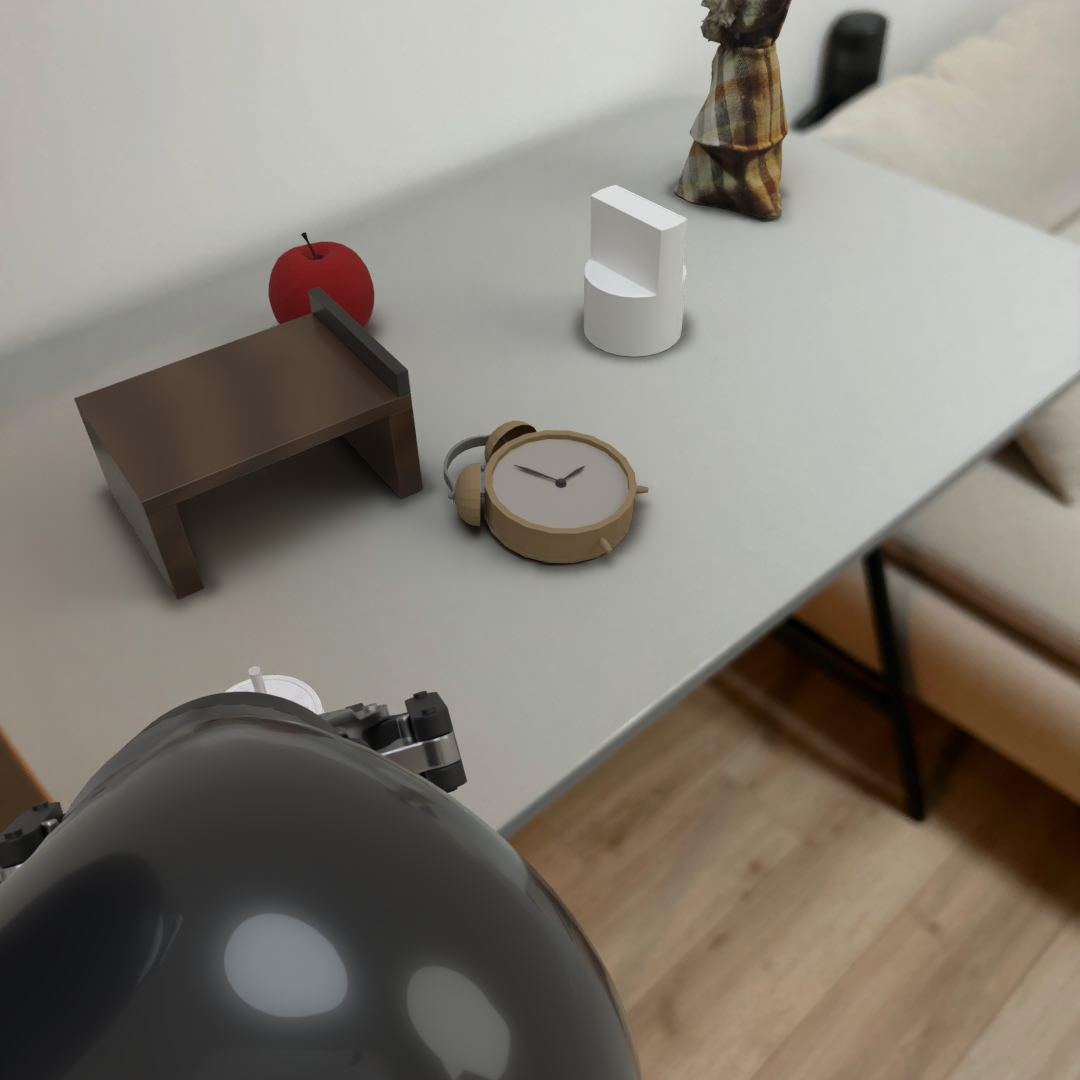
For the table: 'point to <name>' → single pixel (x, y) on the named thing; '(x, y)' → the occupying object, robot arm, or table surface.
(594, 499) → the alarm clock
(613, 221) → the cylinder with rectangular tab
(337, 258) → the apple
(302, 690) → the smoothie
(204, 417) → the shelf
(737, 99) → the plaid figurine
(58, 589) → the table surface
